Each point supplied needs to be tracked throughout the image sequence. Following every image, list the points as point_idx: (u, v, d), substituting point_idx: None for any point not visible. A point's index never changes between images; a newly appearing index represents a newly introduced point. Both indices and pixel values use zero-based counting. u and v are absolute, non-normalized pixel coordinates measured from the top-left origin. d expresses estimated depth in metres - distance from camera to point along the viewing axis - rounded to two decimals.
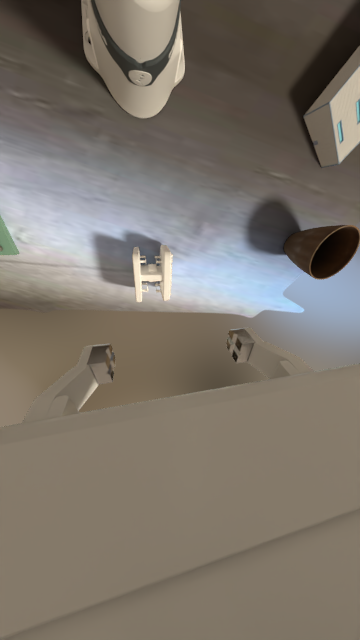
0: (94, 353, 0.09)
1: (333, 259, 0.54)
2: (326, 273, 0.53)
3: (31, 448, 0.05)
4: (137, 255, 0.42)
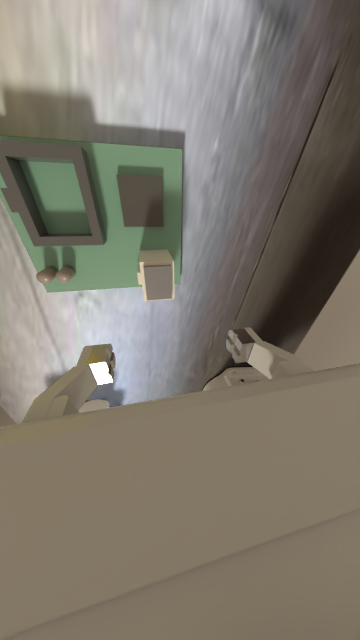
0: (94, 353, 0.09)
1: None
2: None
3: (31, 448, 0.05)
4: None
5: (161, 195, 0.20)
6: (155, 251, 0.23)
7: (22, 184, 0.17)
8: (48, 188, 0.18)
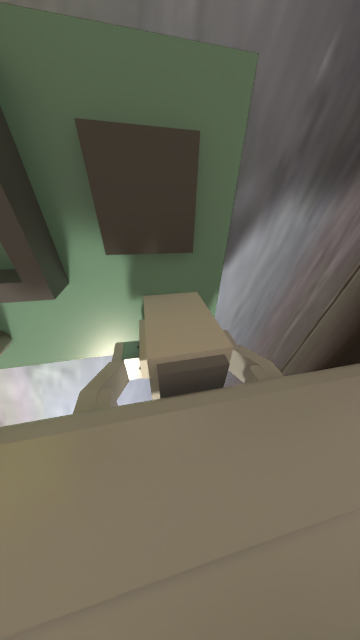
0: (126, 349, 0.10)
1: None
2: None
3: (31, 448, 0.05)
4: None
5: (194, 182, 0.08)
6: (175, 300, 0.11)
7: None
8: None
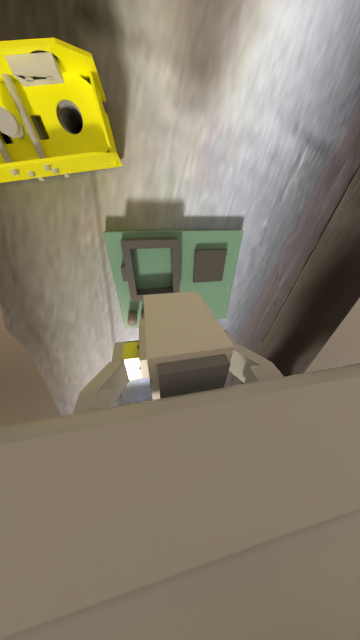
0: (126, 349, 0.10)
1: None
2: None
3: (31, 448, 0.05)
4: None
5: (224, 261, 0.26)
6: (176, 299, 0.11)
7: (132, 262, 0.23)
8: (145, 260, 0.25)
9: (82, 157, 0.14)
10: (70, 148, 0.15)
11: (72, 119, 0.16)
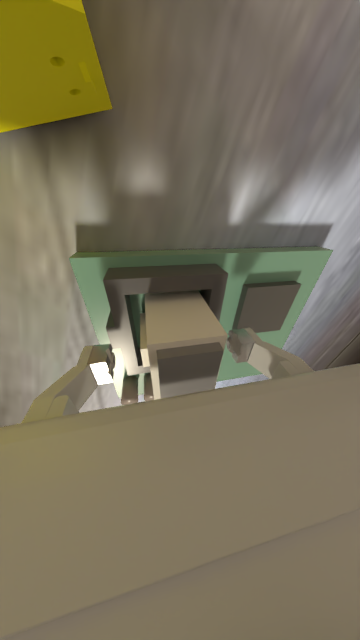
0: (94, 353, 0.09)
1: None
2: None
3: (31, 448, 0.05)
4: None
5: (292, 302, 0.15)
6: (175, 294, 0.12)
7: (130, 313, 0.12)
8: None
9: None
10: None
11: None
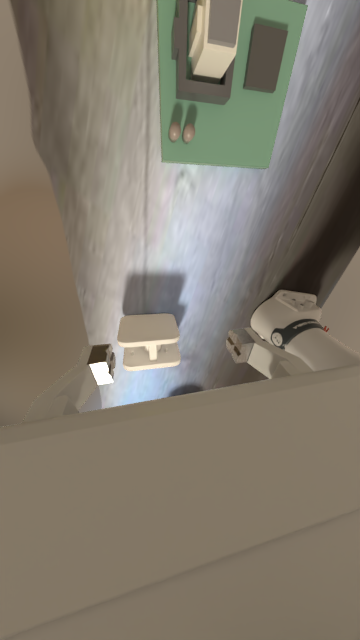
0: (94, 353, 0.09)
1: None
2: None
3: (31, 448, 0.05)
4: (178, 339, 0.39)
5: (282, 52, 0.23)
6: None
7: None
8: None
9: None
10: None
11: None
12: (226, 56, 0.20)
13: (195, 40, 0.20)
